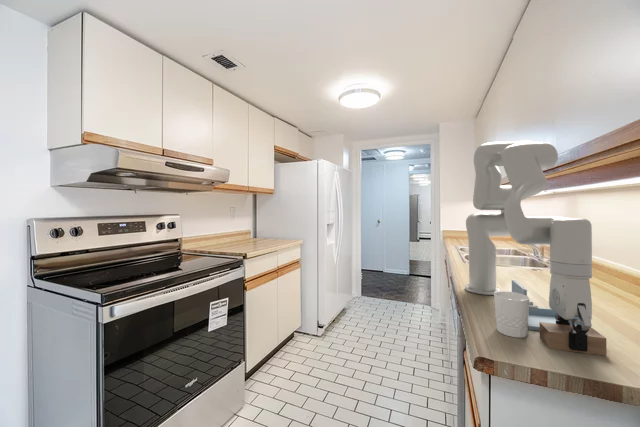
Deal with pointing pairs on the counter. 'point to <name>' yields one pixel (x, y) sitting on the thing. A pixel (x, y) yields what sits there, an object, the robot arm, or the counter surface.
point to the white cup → (511, 313)
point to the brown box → (559, 338)
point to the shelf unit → (537, 311)
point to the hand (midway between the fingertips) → (570, 342)
